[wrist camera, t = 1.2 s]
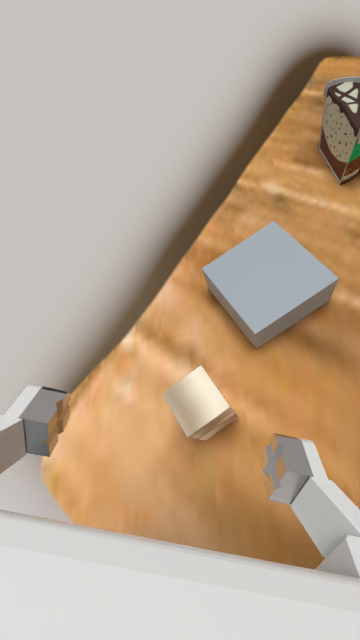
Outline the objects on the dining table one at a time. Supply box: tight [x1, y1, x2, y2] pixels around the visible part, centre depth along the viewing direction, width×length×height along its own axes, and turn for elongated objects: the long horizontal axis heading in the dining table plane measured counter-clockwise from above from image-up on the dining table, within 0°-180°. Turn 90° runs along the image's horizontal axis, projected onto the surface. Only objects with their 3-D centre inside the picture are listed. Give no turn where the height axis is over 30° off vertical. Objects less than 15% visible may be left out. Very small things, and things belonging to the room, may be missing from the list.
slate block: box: [202, 221, 339, 349], centre depth 40 cm, size 12×12×6 cm
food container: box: [319, 77, 360, 185], centre depth 44 cm, size 12×6×10 cm, turn 10°
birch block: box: [162, 366, 238, 441], centre depth 33 cm, size 5×5×10 cm
